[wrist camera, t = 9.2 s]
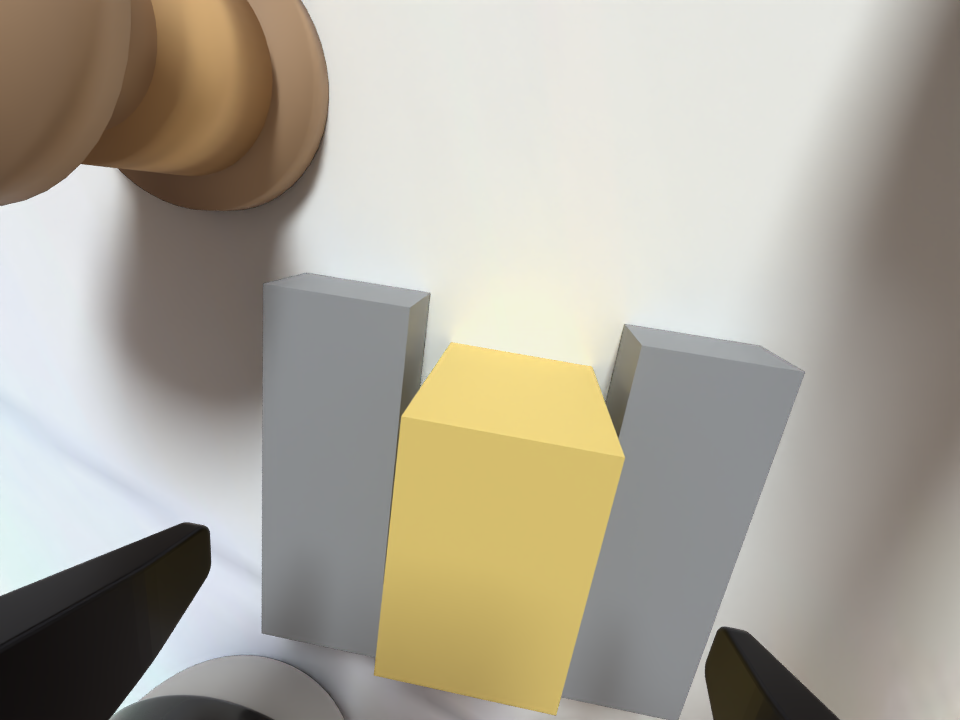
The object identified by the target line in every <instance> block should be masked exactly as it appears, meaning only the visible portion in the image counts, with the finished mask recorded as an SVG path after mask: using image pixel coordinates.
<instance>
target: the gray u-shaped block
mask: <svg viewBox="0 0 960 720" xmlns="http://www.w3.org/2000/svg"><path fill="white" fill-rule="evenodd" d="M429 299H430V293H428V292H422V291H416V290H409V289H403V288H397V287H391V286H384V285H378V284H372V283H366V282H359V281H353V280H347V279H341V278H335V277H328V276H322V275H316V274H310V273H304V274H300V275H296V276H292V277H288V278H284V279H280V280H276V281H272V282H268V283H264V284H263V445H262V634H267V635H272V636H276V637H281V638H286V639H290V640H295V641H300V642H305V643H309V644H314V645H319V646H323V647H328V648H333V649H337V650H342V651H347V652H352V653H356V654H361V655H366V656H370V657H375V658H376V650H377V640H378V631H379V622H380V612H381V603H382V593H383V584H384V575H385V565H386V556H387V546H388V537H389V528H390V518H391V509H392V499H393V490H394V481H395V471H396V462H397V452H398V443H399V434H400V424H401V416H402V414H403V413H404V411H405V410H406V409H407V407H408V406H409V404H410V403H411V401H412V400H413V398H414V397H415V395H416V394H417V392H418V391H419V389H420V381H421V372H422V363H423V354H424V345H425V335H426V326H427V317H428V308H429ZM804 374H805V372H804V371H803V370H801V369H799V368H797V367H796V366H794V365H792V364H791V363H789V362H787V361H785V360H784V359H782V358H780V357H779V356H777V355H775V354H773V353H772V352H770V351H768V350H767V349H765V348H763V347H761V346H758V345H752V344H746V343H739V342H733V341H727V340H721V339H714V338H708V337H702V336H696V335H690V334H683V333H677V332H671V331H665V330H658V329H652V328H646V327H640V326H633V325H627V324H625V325H624V329H623V333H622V338H621V342H620V346H619V350H618V355H617V359H616V363H615V367H614V371H613V376H612V380H611V384H610V388H609V392H608V397H607V401H606V406H607V409H608V412H609V415H610V417H611V420H612V423H613V426H614V428H615V431H616V434H617V437H618V439H619V442H620V445H621V448H622V450H623V453H624V456H625V460H624V464H623V467H622V471H621V475H620V479H619V482H618V486H617V490H616V493H615V497H614V501H613V505H612V508H611V512H610V516H609V520H608V523H607V527H606V531H605V535H604V538H603V542H602V546H601V550H600V553H599V557H598V561H597V564H596V568H595V572H594V576H593V579H592V583H591V587H590V591H589V594H588V598H587V602H586V606H585V609H584V613H583V617H582V620H581V624H580V628H579V632H578V635H577V639H576V643H575V647H574V650H573V654H572V658H571V662H570V665H569V669H568V673H567V677H566V680H565V684H564V688H563V691H562V695H561V697H563V698H568V699H572V700H577V701H582V702H586V703H591V704H596V705H601V706H605V707H610V708H615V709H619V710H624V711H629V712H633V713H638V714H643V715H648V716H652V717H657V718H662V719H666V720H678V719H679V717H680V714H681V711H682V709H683V706H684V703H685V700H686V698H687V695H688V692H689V689H690V687H691V684H692V681H693V678H694V676H695V673H696V670H697V667H698V665H699V662H700V659H701V656H702V654H703V651H704V648H705V645H706V643H707V640H708V637H709V634H710V632H711V629H712V626H713V623H714V621H715V618H716V615H717V612H718V610H719V607H720V604H721V602H722V599H723V596H724V593H725V591H726V588H727V585H728V582H729V580H730V577H731V574H732V571H733V569H734V566H735V563H736V560H737V558H738V555H739V552H740V549H741V547H742V544H743V541H744V538H745V536H746V533H747V530H748V527H749V525H750V522H751V519H752V516H753V514H754V511H755V508H756V505H757V503H758V500H759V497H760V495H761V492H762V489H763V486H764V484H765V481H766V478H767V475H768V473H769V470H770V467H771V464H772V462H773V459H774V456H775V453H776V451H777V448H778V445H779V442H780V440H781V437H782V434H783V431H784V429H785V426H786V423H787V420H788V418H789V415H790V412H791V409H792V407H793V404H794V401H795V398H796V396H797V393H798V390H799V388H800V385H801V382H802V379H803V377H804Z"/></svg>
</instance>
